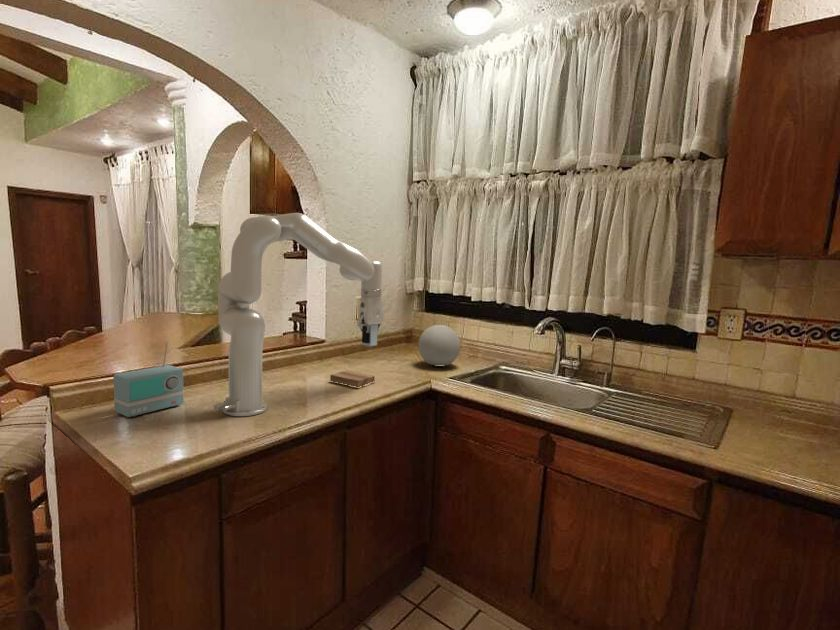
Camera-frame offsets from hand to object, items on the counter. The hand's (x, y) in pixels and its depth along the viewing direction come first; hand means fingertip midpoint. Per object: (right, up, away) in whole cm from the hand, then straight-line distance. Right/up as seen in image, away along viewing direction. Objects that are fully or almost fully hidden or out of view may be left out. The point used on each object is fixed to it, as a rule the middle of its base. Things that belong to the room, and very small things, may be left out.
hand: (369, 341), depth 161 cm
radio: (-62, -19, -34) cm, 73 cm away
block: (0, -1, 0) cm, 1 cm away
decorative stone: (+28, -15, +42) cm, 52 cm away
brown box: (-8, -17, +6) cm, 19 cm away
